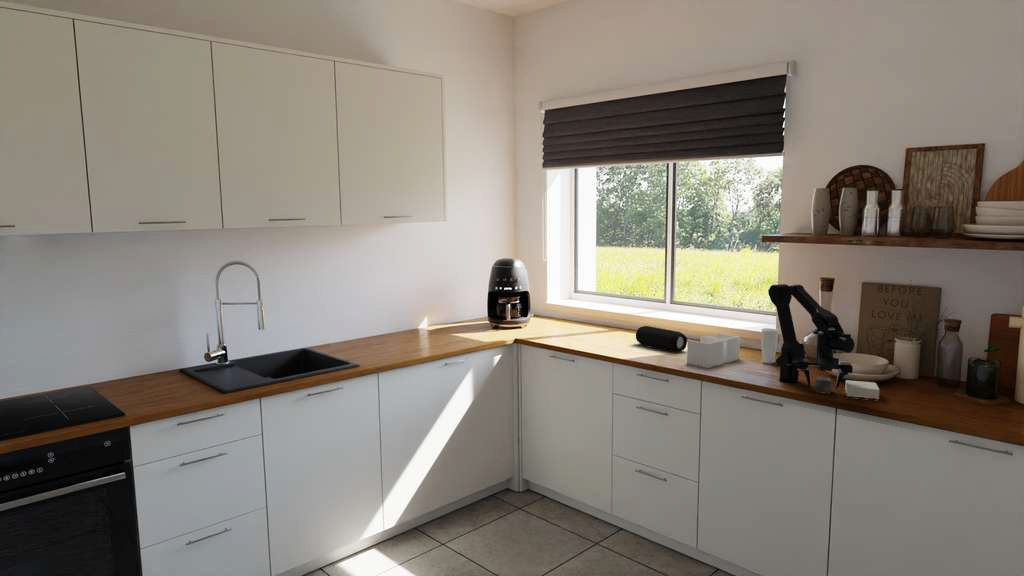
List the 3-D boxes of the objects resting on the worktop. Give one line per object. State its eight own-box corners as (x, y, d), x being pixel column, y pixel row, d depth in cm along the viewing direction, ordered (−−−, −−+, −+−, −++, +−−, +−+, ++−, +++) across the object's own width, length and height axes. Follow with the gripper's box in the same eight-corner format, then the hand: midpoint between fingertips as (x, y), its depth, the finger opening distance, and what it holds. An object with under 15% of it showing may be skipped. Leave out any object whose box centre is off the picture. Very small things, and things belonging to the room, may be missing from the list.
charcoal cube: (815, 392, 242) (816, 379, 242) (815, 389, 247) (815, 376, 246) (830, 394, 240) (831, 381, 240) (829, 390, 245) (830, 378, 244)
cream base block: (847, 397, 236) (848, 386, 235) (845, 390, 245) (845, 380, 245) (878, 400, 232) (879, 389, 232) (875, 393, 241) (875, 382, 241)
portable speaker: (687, 351, 313) (688, 331, 312) (675, 354, 307) (675, 333, 305) (647, 343, 333) (647, 324, 332) (634, 345, 327) (634, 326, 325)
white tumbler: (758, 363, 289) (760, 330, 287) (762, 360, 294) (763, 327, 292) (774, 365, 285) (776, 331, 283) (777, 361, 291) (779, 329, 289)
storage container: (708, 368, 280) (709, 343, 279) (686, 363, 288) (687, 339, 287) (739, 359, 296) (740, 336, 295) (718, 355, 304) (719, 332, 303)
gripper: (798, 349, 238) (796, 390, 240) (855, 354, 231) (852, 396, 232) (797, 344, 248) (795, 383, 250) (852, 347, 241) (849, 388, 243)
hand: (822, 387), depth 243 cm, fingers open, 9 cm apart
